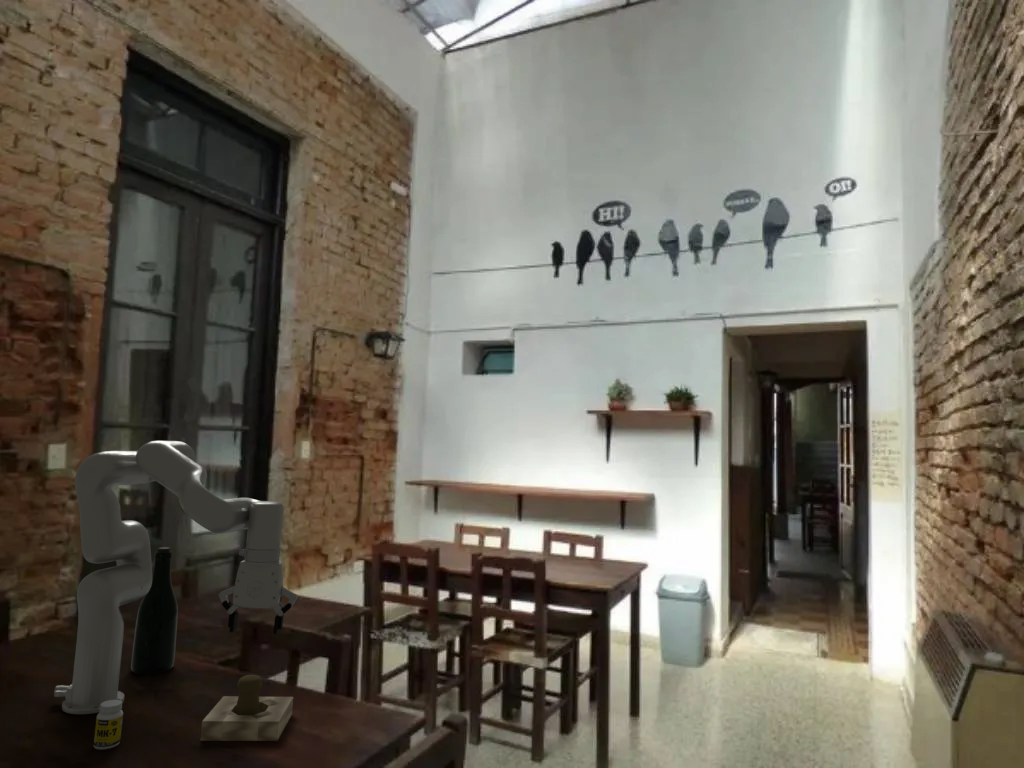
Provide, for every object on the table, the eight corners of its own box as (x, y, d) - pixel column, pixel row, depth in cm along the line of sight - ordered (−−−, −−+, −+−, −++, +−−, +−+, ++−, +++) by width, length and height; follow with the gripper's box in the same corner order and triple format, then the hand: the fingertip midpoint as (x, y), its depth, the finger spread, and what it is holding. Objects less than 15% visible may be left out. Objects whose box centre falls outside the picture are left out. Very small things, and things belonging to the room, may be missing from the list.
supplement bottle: (91, 751, 133) (95, 708, 134) (95, 741, 138) (99, 700, 139) (118, 748, 135) (122, 705, 136) (121, 738, 140) (125, 697, 140)
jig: (200, 740, 140) (202, 721, 141) (222, 713, 154) (223, 696, 155) (277, 740, 142) (278, 721, 142) (291, 714, 156) (293, 696, 156)
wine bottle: (162, 660, 188) (173, 543, 192) (180, 669, 182) (192, 548, 185) (123, 669, 180) (135, 546, 183) (141, 678, 174) (154, 551, 177)
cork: (266, 724, 150) (270, 674, 151) (246, 734, 144) (251, 683, 145) (245, 719, 152) (249, 670, 153) (225, 729, 146) (229, 678, 147)
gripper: (218, 556, 147) (210, 635, 146) (297, 560, 149) (290, 637, 147) (228, 551, 155) (221, 625, 153) (304, 554, 156) (297, 628, 155)
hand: (254, 631), depth 150 cm, fingers open, 9 cm apart
